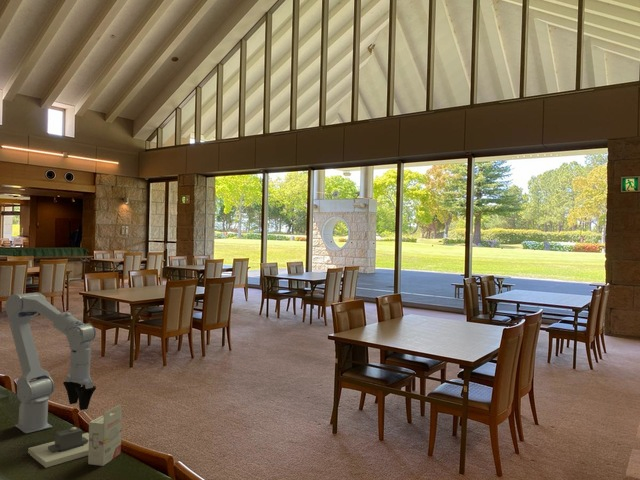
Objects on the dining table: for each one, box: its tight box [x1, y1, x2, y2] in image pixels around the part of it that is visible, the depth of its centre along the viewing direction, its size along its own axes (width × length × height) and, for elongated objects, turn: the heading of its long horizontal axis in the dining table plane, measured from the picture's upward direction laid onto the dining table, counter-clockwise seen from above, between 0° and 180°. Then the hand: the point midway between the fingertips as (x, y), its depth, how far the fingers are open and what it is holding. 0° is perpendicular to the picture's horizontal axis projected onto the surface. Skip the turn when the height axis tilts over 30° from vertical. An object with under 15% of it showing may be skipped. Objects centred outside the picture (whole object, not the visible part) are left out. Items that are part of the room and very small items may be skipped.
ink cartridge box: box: [87, 403, 123, 467], centre depth 141 cm, size 9×5×15 cm, turn 168°
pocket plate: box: [27, 432, 89, 469], centre depth 145 cm, size 13×17×2 cm
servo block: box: [48, 426, 88, 452], centre depth 145 cm, size 4×10×7 cm, turn 139°
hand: (78, 406), depth 156 cm, fingers open, 7 cm apart
